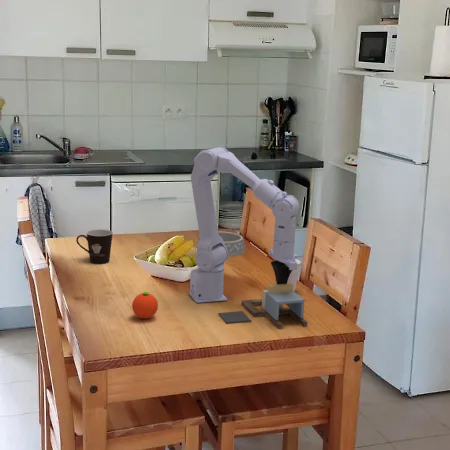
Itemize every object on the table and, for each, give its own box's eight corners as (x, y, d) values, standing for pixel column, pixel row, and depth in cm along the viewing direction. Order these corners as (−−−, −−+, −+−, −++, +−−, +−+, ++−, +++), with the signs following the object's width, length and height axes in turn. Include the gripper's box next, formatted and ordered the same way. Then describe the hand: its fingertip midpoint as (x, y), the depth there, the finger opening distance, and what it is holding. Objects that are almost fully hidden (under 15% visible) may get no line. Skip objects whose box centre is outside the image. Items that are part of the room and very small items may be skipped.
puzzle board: (266, 330, 185) (266, 325, 185) (241, 304, 203) (241, 300, 203) (318, 325, 190) (318, 320, 190) (289, 300, 208) (289, 296, 208)
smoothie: (297, 295, 212) (300, 251, 209) (276, 293, 213) (279, 249, 210) (299, 289, 218) (303, 245, 215) (279, 287, 220) (282, 243, 216)
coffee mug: (117, 260, 239) (118, 232, 237) (100, 266, 232) (100, 237, 230) (92, 254, 245) (92, 226, 243) (74, 260, 238) (74, 231, 236)
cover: (275, 320, 188) (277, 294, 186) (264, 309, 196) (266, 285, 194) (303, 317, 191) (304, 292, 189) (291, 307, 198) (292, 283, 196)
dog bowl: (199, 242, 267) (200, 228, 266) (247, 246, 265) (248, 232, 264) (191, 254, 251) (192, 240, 250) (242, 258, 249) (243, 244, 247)
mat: (226, 323, 188) (226, 322, 188) (218, 314, 195) (218, 312, 195) (250, 321, 191) (250, 320, 191) (242, 312, 197) (242, 310, 197)
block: (267, 312, 198) (268, 295, 197) (261, 306, 202) (262, 290, 201) (282, 310, 200) (283, 294, 199) (276, 305, 204) (277, 289, 203)
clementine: (134, 311, 195) (135, 286, 193) (159, 312, 195) (160, 288, 193) (130, 322, 187) (130, 296, 185) (156, 323, 187) (156, 297, 185)
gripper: (308, 246, 188) (305, 294, 191) (287, 232, 201) (284, 278, 205) (284, 247, 186) (281, 296, 189) (264, 233, 199) (261, 279, 202)
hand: (281, 287), depth 197 cm, fingers closed
